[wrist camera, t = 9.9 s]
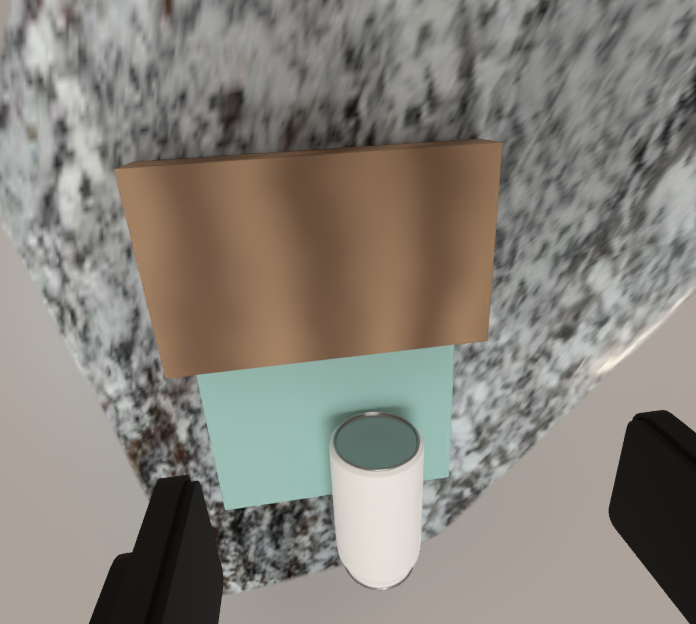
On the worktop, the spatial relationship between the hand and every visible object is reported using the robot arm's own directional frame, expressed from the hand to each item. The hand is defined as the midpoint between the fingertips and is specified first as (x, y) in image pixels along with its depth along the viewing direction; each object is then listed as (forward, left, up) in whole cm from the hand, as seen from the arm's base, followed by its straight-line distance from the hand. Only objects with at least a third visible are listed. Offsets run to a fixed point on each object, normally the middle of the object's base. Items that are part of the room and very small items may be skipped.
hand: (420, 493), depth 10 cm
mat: (0, +13, -21) cm, 25 cm away
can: (-2, +13, -18) cm, 22 cm away
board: (0, 0, -21) cm, 21 cm away
